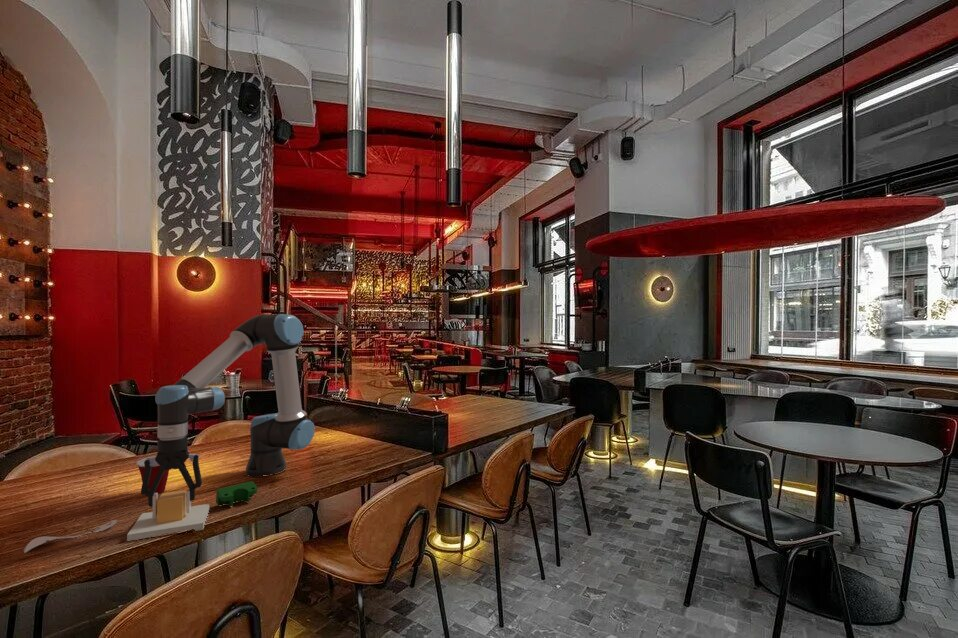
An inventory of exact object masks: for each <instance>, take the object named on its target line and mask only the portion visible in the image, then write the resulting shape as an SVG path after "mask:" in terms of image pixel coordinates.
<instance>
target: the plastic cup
mask: <svg viewBox="0 0 958 638" xmlns="http://www.w3.org/2000/svg"><path fill="white" fill-rule="evenodd" d="M156 456H157V455H153V456H152V455H151V456H149V457H144V458H142V459H139V460H138V461H137V462H136V467H138V470H139V472H140V478H141V482H142V483H143V478H144V473H145V465H144V462H145V461H146V460H147V459H148V458H150V459H152V458H155V457H156ZM160 468H161V466H160V465H159V464H158V463H157V462H156V461H155V462H154V465H153V466H152V470H151V475H150V480H149V486H148V489H151V487H152V485H153V483H154V480H155V478H156V476H157V474H158V472H159V470H160ZM169 472H170V470H165V472H164V474H163V476H162V478H161V480H160V482H159V484H158V486H157V488H156V490H155V492H154V494H155V493H158V495H161V494H162V493H165V490H166V486H167V482H168V478H169ZM142 483H141V484H142Z"/></svg>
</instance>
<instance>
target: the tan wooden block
mask: <svg viewBox="0 0 958 638" xmlns="http://www.w3.org/2000/svg"><path fill="white" fill-rule="evenodd" d="M186 499H187V489H183V490H178V491H176V490H175V491H170V492H163V493H161V494H160V495H159V496H158V500H157V524H160V523H166V522H173V521H179V520H183V518H184V515H185V513H186Z"/></svg>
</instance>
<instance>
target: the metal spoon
mask: <svg viewBox="0 0 958 638" xmlns="http://www.w3.org/2000/svg"><path fill="white" fill-rule="evenodd" d="M117 522H118V520H117V519H115V520H110V521H108V522H107V523H105V524H103V525H100V527H97V528H95V529H92V530H91V531H93V532H99V531H101V532H103V531H106V530H107V529H109V528H111V527H113V526H115V524H116V523H117ZM91 531H89V532H85V533H82V534H77V535H70V536H49V535H48V536H46V535H45V536H38V537H35V538H33V539H32V540H30V541H29V542H28V543H27V544H26V545H25V547H24V548H23V553H24V554H27V553H28V552H29V551H31V550H32V549H35V548H37V547H38V546H40V545H43V544H45V543H48V542H51V541H54V540H61V539H76V538H75V537H77V538H79V537H78V536H81V535H83V534H87V533H92V532H91ZM99 533H100V532H99ZM81 537H82V536H81Z"/></svg>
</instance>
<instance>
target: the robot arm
mask: <svg viewBox="0 0 958 638" xmlns="http://www.w3.org/2000/svg"><path fill="white" fill-rule="evenodd" d="M303 337H304V327H303V323H302V322H301V320H300V319H299V318H298V317H296V316H295V315H293V314H285V313H278V314H277V313H275V314H274V313H273V314H259V315H256V316H253V317H251V318H248V319H247V320H246V321H245V322H243V323H241V324H240V325H238V327H236V328H235V329H234V330H233V331H231V332H230V334H229V337H228V338H227V339H226V340H225V341H224V342H222V343H221V344H220V345H219V346H218V347H216V349H214V350H213V351H212V352H211V353H210V354H208V355H206V357H205V358H203V359H202V360H201V361H200V362H199V363H197V365H195V366H194V367H193V368H192V369H191V370H189V371H188V372H187V373H186V374H184V375H183V376H182V377H181V378H180V379H178V381H176V382H175V383H173V384H172V385H165V386H162V387H160V388H159V389H158V390H157V392H156V393H155V397H154V400H155V404H156V406H157V438H158V440H157V441H156V442H157V448H156V449H157V450H156V455H155V456H156V457H155V458H152V459H150V458H148V457H147V458H148V459H147V460H146V461H145V462H144V465H145V473H144V478H143V483H141V489H140V495H142V496H143V495H145V496H147V495H148V498H147V499H148V500H147V501H148V502H147V503H148V504H147V505H148V507H152V511H151V512H152V518H156V516H157V500H158V499H159V494H158V493H155V494H154V492H155V490H156V488H157V486H158V484H159V482H160V480H161V478H162V476H163V474H164V472H165V470H169V471H170V470H177V469H178V471H179V472H180V474H181V475H182V477H183V480H184V482H185V483H186V486H187V487H188V488H187V489H186V513H190V510H191V506H192V501H195V498H196V489H198V488H201V486H202V484H203V480H202V475H201V474H202V473H201V468H200V463H199V460H200V459H199V458H200V453H199V452H198V453H195V454H194V453H190V452H189V451H188V445H189V444H188V439H189V438H188V436H187V435H188V429H189V422H188V421H189V416H190V415H194V414H195V415H196V414H200V413H205V412H206V413H207V412H213V411H216V410H219V409H221V408H222V407H223V406H224V404H225V401H226V395H225V392H224V391H223V389H222V388H220V387H218V386H209V385H210V384H211V383H212V382H213V381H214V380H215V379H216V378H217V377H219V376H220V375H221V374H222V373H223V372H225V370H226V369H228V367H230V366H231V365H232V364H233V363H234V362H236V360H238V359H239V357H240V356H242V355H243V354H244V353H245V352H251V350H252V349H254V348H255V347H257V346H259V345H265V348H266V349H265V350H266V352H268V354H270V356H271V362H272V370H273V371H272V372H273V377H274V384H275V385H274V387H275V393H276V395H275V396H276V403H277V409H278V412H277V413H267V414H264V415H258V416H255V417H253V418H251V421H250V428H249V429H250V431H249V432H250V456H249V457H248V460H247V464H246V467H245V476H247V475H249V476H248V477H250V476H263V475H270V474H275V473H278V472H281V471H283V470H284V469H286V470H287V462H286V459H285V456H284V453H283V449H285V450H286V449H288V450H291V451H295V450H299V451H300V450H303V449H305V448H307V447H308V446H309V445H310V443H311V442H312V440H313V439H314V436H315V430H316V427H315V424H314V422H313V421H311V419H308V417H307V415H308V414H307V411H305V410H303V408H302V407H303V406H302V398H301V391H300V382H299V373H298V366H297V356H296V352H297V350H298V348H299V343H300V342H301V341H302V340H303ZM207 386H209V387H207ZM188 459H189V461H190V462H192V469H193V475H194V480H193V478H192V476H191V474H190V473H189V469H188V468H187V465H186V461H187V460H188ZM155 461H156V462H157V463H158V464H159V465H160V466H161V468H160V470H159V472H158V474H157V476H156V478H155V480H154V483H153V485H152V487H151V489H148V486H149V480H150V475H151V470H152V466H153V465H154V462H155ZM194 481H195V482H194Z"/></svg>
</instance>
